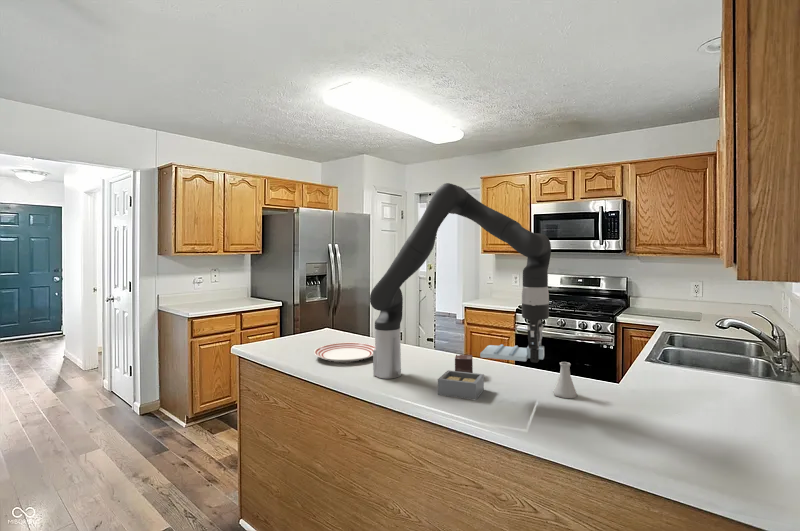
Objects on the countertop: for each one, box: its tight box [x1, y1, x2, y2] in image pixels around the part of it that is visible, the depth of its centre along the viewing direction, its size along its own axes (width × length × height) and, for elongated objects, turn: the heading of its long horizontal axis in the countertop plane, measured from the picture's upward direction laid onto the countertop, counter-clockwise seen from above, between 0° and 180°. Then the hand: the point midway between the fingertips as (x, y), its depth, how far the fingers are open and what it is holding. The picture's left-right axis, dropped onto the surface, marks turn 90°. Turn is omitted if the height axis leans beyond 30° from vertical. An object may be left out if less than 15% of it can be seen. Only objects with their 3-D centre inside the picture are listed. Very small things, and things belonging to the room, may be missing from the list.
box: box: [454, 354, 474, 373], centre depth 153 cm, size 6×6×7 cm
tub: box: [437, 369, 485, 401], centre depth 136 cm, size 12×10×6 cm
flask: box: [552, 361, 578, 399], centre depth 134 cm, size 7×7×10 cm
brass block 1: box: [447, 376, 461, 381], centre depth 137 cm, size 4×4×4 cm
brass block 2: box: [462, 378, 476, 382], centre depth 135 cm, size 4×4×4 cm
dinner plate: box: [313, 341, 375, 363], centre depth 184 cm, size 27×27×3 cm
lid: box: [479, 343, 545, 362], centre depth 129 cm, size 17×11×3 cm, turn 66°
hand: (535, 360), depth 127 cm, fingers closed on lid, 3 cm apart
